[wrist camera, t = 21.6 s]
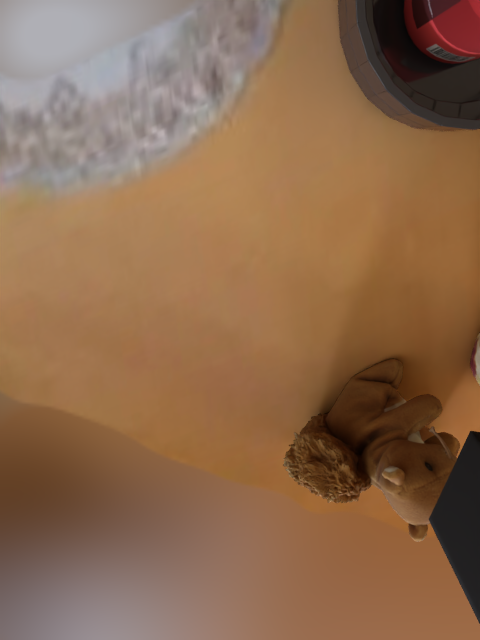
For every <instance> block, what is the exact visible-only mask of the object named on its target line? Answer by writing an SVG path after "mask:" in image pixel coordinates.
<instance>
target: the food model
mask: <svg viewBox="0 0 480 640" xmlns="http://www.w3.org/2000/svg"><path fill="white" fill-rule="evenodd" d="M470 366H471V369H472V372H473V375H474V377H475V378H476V380H477V382H478V383H479V385H480V333H479V334H478V336H477V338H476V341H475V344H474V348H473V352H472V356H471V362H470Z"/></svg>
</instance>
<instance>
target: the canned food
mask: <svg viewBox="0 0 480 640" xmlns="http://www.w3.org/2000/svg"><path fill="white" fill-rule="evenodd" d="M404 20H405V25H406V29H407V32H408V35H409V36H410V38H411V40H412V42H413V43H414V45H415V46H416V47H417V48H418V49H419V50H420V51H421V52H422V53H424V54H425V55H427V56H428V57H430V58H432V59H434V60H437V61H440V62H444V63H451V64H455V63H465V62H469V61H472V60H475V59H478V58H480V0H404Z"/></svg>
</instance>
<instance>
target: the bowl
mask: <svg viewBox="0 0 480 640" xmlns="http://www.w3.org/2000/svg"><path fill="white" fill-rule="evenodd" d="M338 14H339V29H340V39H341V44H342V48H343V51H344V54H345V57H346V60H347V64H348V67H349V70H350V72H351V74H352V76H353V77H354V79H355V80H356V82H357V84H358V85H359V87H360V88H361V90H362V91H363V93H364V95H365V96H366V97H367V99H368V100H369V101H371V102H372V103H373V104H374V105H375V106H376V107H377V108H379V109H380V110H381V111H382V112H383V113H384V114H386V115H387V116H388V117H390V118H392V119H394V120H397V121H399V122H401V123H403V124H406V125H408V126H410V127H412V128H416V129H425V130H434V131H460V130H476V129H480V58H478V59H475V60H472V61H469V62H465V63H455V64H451V63H444V62H440V61H437V60H434V59H432V58H430V57H428V56H427V55H425V54H424V53H422V52H421V51H420V50H419V49H418V48H417V47H416V46H415V45H414V43H413V42H412V40H411V38H410V36H409V35H408V32H407V29H406V25H405V20H404V0H338Z"/></svg>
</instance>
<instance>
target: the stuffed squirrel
mask: <svg viewBox="0 0 480 640" xmlns="http://www.w3.org/2000/svg"><path fill="white" fill-rule="evenodd" d="M402 374H403V364H402V363H401V362H400V361H398V360H396V359H389V360H386V361H383V362H380V363H378V364H376V365H374V366H372V367H370V368H368V369H366V370H364V371H362V372H360V373H358V374H357V375H355V376H353V377H352V378H351V379H350V381H349V382H348V383H347V385H346V386H345V388H344V389H343V391H342V393H341V394H340V396H339V397H338V399H337V400H336V402H335V404H334V406H333V407H332V409H331V410H330V412H329V413H327V414H323V415H322V414H318V416H314V417H312V418H311V419H312V420H311V421H308V423H307V424H306V426H305V427H304V428H303V429H302V431H301V432H300V434H299V435H298V434H297V433H294V434H295V438H296V440H294V444H292V445H289V446H291V448H290V450H289V451H288V452H286V455H285V458H284V464H283V465H284V466H286V467H287V468H288V469H286V471H288V472H290V473H289V475H290V476H289V477H292V478H294V481H296V482H298V484H299V485H301V486H304V487H306V488H308V489H309V490H310V491H311V493H315V495H317V496H322V498H323V499H325V498H326V499H327V501H328V503H329V502H330V501H333V502H335V503H339V502H341V503H343V502H344V503H347V502H349V501H350V502H352V501H358V497H359V496H360V495H359V494H360V493H361V492H362V491H366V490H367V489H369V488H370V486H371V485H374V486H375V487H377V488H379V489H380V490H382V492H383V493H384V495H385V497H386V498H387V500H388V502H389V503H390V505H391V506H392V508H393V509H394V510H395V512H396V513H397V514H398V515H399V516H400V517H401V518H402V519H403V520H405V521H406V522H408V523H409V534H410V536H411V538H412V539H413V540H414V541H422V540H423V539H424V538H425V537H426V535H427V530H428V526H427V524H431V523H430V521H429V517H430V515H431V513H432V511H433V509H434V507H435V505H436V503H437V501H438V498H439V496H440V494H441V492H442V490H443V488H444V486H445V484H446V482H447V479H448V477H449V475H450V473H451V471H452V469H453V467H454V465H455V463H456V460H457V457H456V456H457V453H458V451H459V449H460V443H459V441H458V440H457V439H456V438H455V437H454V436H453V435H451V434H449V433H446V432H441V433H436V432H435V430H434V427H431V429H429V428H427V427H425V426H426V425H428V424H429V423H430V422H431V421H433V420H434V419H436V418H437V417H438V416H439V415H440V414H441V412H442V406H441V403H440V401H439V399H437V398H436V397H434V396H433V395H429V394H426V395H421V396H418V397H415V398H413V399H411V400H409V401H407V402H406V401H405V399H404V398H402V397H401V395H400V394H399V392H398V391H397V388H398V386H399V384H400V381H401V379H402ZM434 434H435V435H434ZM285 460H286V461H285ZM350 502H349V503H350Z"/></svg>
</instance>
